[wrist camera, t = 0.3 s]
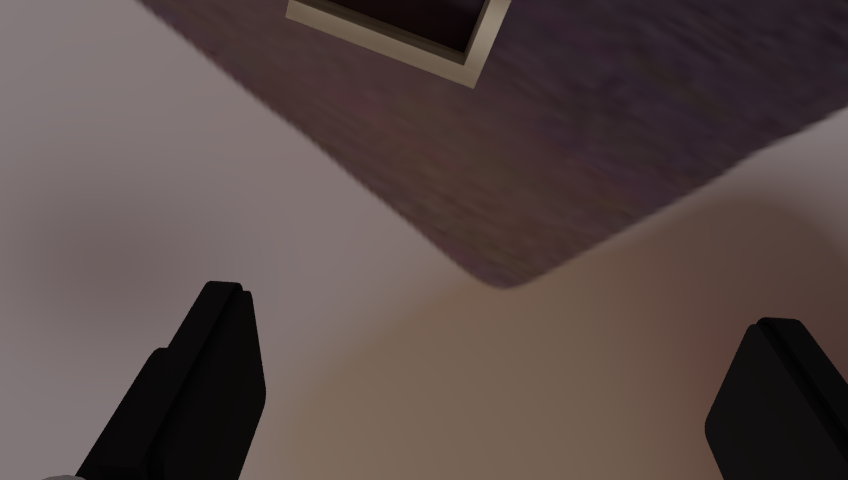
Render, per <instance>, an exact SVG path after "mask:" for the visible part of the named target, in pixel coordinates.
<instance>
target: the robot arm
mask: <svg viewBox="0 0 848 480" xmlns="http://www.w3.org/2000/svg"><path fill="white" fill-rule="evenodd" d="M265 399H266V387H265V380H264V373H263V366H262V360H261V353H260V346H259V339H258V333H257V326H256V319H255V313H254V306H253V299H252V295H251V292H250V291H243V288H242V286H241V284H240V283H235V282H221V281H209V282H207V283H206V284H205V286H204V287H203V289H202V291H201V292H200V294H199V296H198V298H197V299H196V301H195V302H194V304H193V306H192V307H191V309H190V311H189V312H188V314H187V316H186V317H185V319H184V321H183V322H182V324H181V326H180V327H179V329H178V331H177V333H176V334H175V336H174V337H173V339H172V341H171V343H170V344H169V346H168V347H167V348H158V349H156V350H155V351H154V352H153V353H152V354H151V355H150V357H149V358H148V360H147V361H146V363H145V364H144V366H143V368H142V369H141V371H140V372H139V374H138V376H137V377H136V379H135V380H134V382H133V384H132V385H131V387H130V388H129V390H128V392H127V393H126V395H125V396H124V398H123V400H122V401H121V403H120V404H119V406H118V408H117V409H116V411H115V412H114V414H113V416H112V417H111V419H110V420H109V422H108V424H107V425H106V427H105V428H104V430H103V432H102V433H101V435H100V436H99V438H98V440H97V441H96V443H95V444H94V446H93V448H92V449H91V451H90V452H89V454H88V456H87V457H86V459H85V460H84V462H83V464H82V465H81V467H80V468H79V470H78V471H77V473H76V475H75V476H70V475H63V476H54V477H49V478H46V479H43V480H238V479H239V476H240V473H241V470H242V467H243V465H244V462H245V459H246V456H247V453H248V451H249V448H250V445H251V442H252V439H253V437H254V434H255V431H256V428H257V425H258V423H259V420H260V417H261V414H262V411H263V409H264V405H265ZM705 435H706V439H707V441H708V444H709V446H710V448H711V451H712V453H713V455H714V458H715V460H716V462H717V465H718V467H719V469H720V472H721V474H722V476H723V479H724V480H848V384H847V383H846V382H845V380H844V379H843V377H842V376H841V375H840V373H839V372H838V371H837V369H836V368H835V367H834V365H833V364H832V363H831V361H830V360H829V359H828V357H827V356H826V354H825V353H824V352H823V351H822V349H821V348H820V346H819V345H818V344H817V342H816V341H815V340H814V338H813V337H812V336H811V334H810V333H809V332H808V330H807V329H806V328H805V326H804V325H803V324H802V323H801V322H800V321H799V320H796V319H786V318H770V317H764V318H761V319H760V320H758V322H757V323H756V324H752V325H750V326H749V327H748V329H747V330H746V333H745V335H744V337H743V340H742V341H741V344H740V346H739V348H738V350H737V352H736V355H735V357H734V359H733V361H732V363H731V366H730V368H729V370H728V372H727V374H726V377H725V379H724V381H723V383H722V385H721V388H720V390H719V392H718V394H717V396H716V398H715V401H714V403H713V405H712V407H711V409H710V412H709V414H708V416H707V418H706V422H705Z"/></svg>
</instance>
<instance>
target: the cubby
mask: <svg viewBox="0 0 848 480" xmlns="http://www.w3.org/2000/svg"><path fill="white" fill-rule="evenodd" d="M510 2H511V0H485V2H484V4H483V7H482V9H481V12H480V14H479V17H478V19H477V22H476V24H475V27H474V29H473V32H472V34H471V37H470V39H469V42H468V44H467V47H466V49H465V52H464V53H462V52H459V51H457V50H454V49H452V48H449V47H446V46H444V45H441V44H439V43H436V42H434V41H431V40H428V39H426V38H423V37H421V36H418V35H416V34H413V33H410V32H408V31H405V30H403V29H400V28H398V27H395V26H392V25H390V24H387V23H385V22H382V21H380V20H377V19H375V18H372V17H369V16H367V15H364V14H362V13H359V12H357V11H354V10H351V9H349V8H346V7H344V6H341V5H339V4H336V3H333V2H331V1H328V0H289V3H288V8H287V12H286V18H289V19H292V20H294V21H297V22H300V23H302V24H305V25H307V26H310V27H313V28H315V29H318V30H321V31H323V32H326V33H328V34H331V35H334V36H336V37H339V38H342V39H344V40H347V41H349V42H352V43H355V44H357V45H360V46H363V47H365V48H368V49H370V50H373V51H376V52H378V53H381V54H384V55H386V56H389V57H391V58H394V59H397V60H399V61H402V62H405V63H407V64H410V65H412V66H415V67H418V68H420V69H423V70H426V71H428V72H431V73H433V74H436V75H439V76H441V77H444V78H447V79H449V80H452V81H454V82H457V83H460V84H462V85H465V86H468V87H470V88H473V89H474V87H475V84H476V82H477V80H478V77H479V75H480V73H481V70H482V68H483V65H484V63H485V61H486V58H487V56H488V54H489V51H490V49H491V47H492V44H493V42H494V40H495V37H496V35H497V33H498V30H499V28H500V26H501V23H502V21H503V18H504V16H505V14H506V11H507V9H508V7H509V4H510Z"/></svg>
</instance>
